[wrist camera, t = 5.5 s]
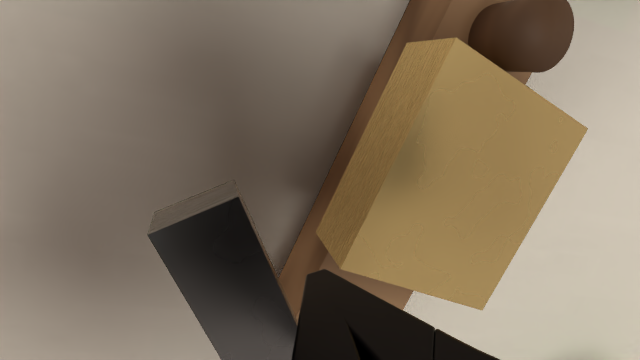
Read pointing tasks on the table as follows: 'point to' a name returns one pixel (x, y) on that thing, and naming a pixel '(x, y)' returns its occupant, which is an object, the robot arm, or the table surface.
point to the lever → (226, 275)
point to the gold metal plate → (447, 175)
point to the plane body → (416, 25)
